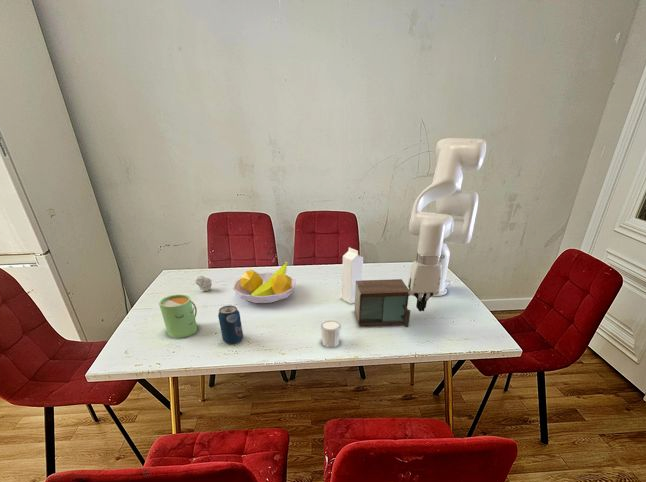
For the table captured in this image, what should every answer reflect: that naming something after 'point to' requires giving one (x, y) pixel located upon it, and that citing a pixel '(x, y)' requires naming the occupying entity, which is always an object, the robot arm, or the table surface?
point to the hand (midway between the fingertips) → (420, 309)
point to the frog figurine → (203, 283)
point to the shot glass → (330, 333)
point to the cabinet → (376, 300)
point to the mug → (178, 315)
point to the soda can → (230, 324)
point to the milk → (351, 274)
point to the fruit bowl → (265, 286)
